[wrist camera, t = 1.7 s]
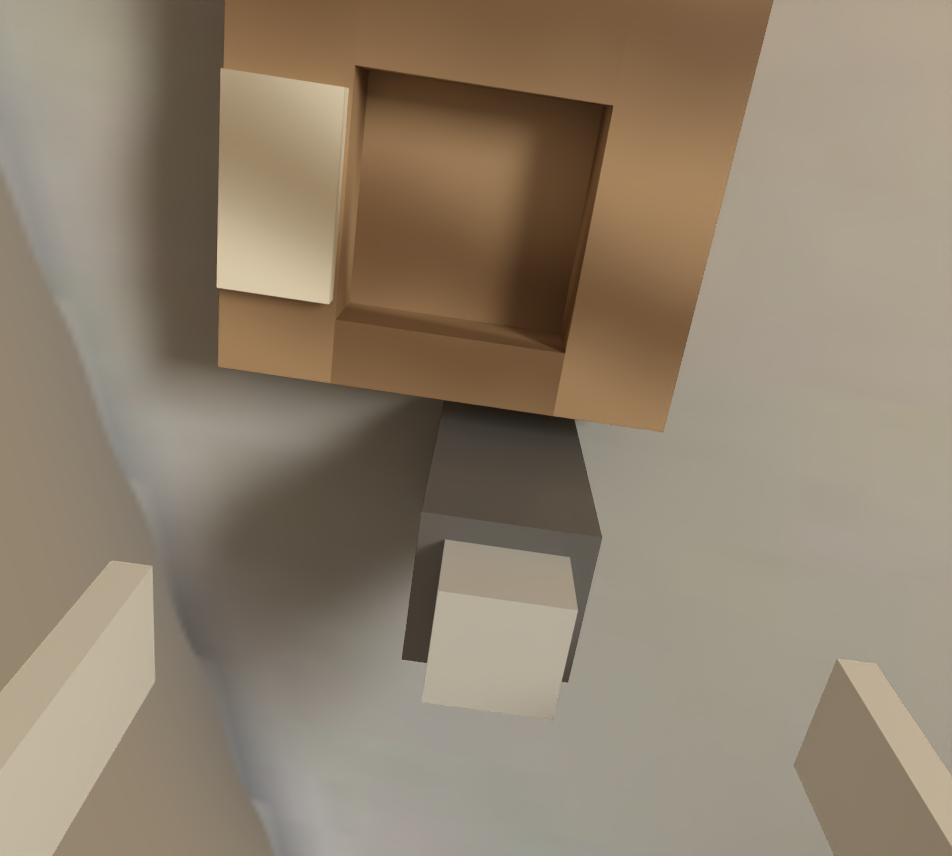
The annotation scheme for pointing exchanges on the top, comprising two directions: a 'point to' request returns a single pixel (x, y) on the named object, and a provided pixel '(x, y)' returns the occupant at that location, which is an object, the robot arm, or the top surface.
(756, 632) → the top surface
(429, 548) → the plug
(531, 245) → the socket board
